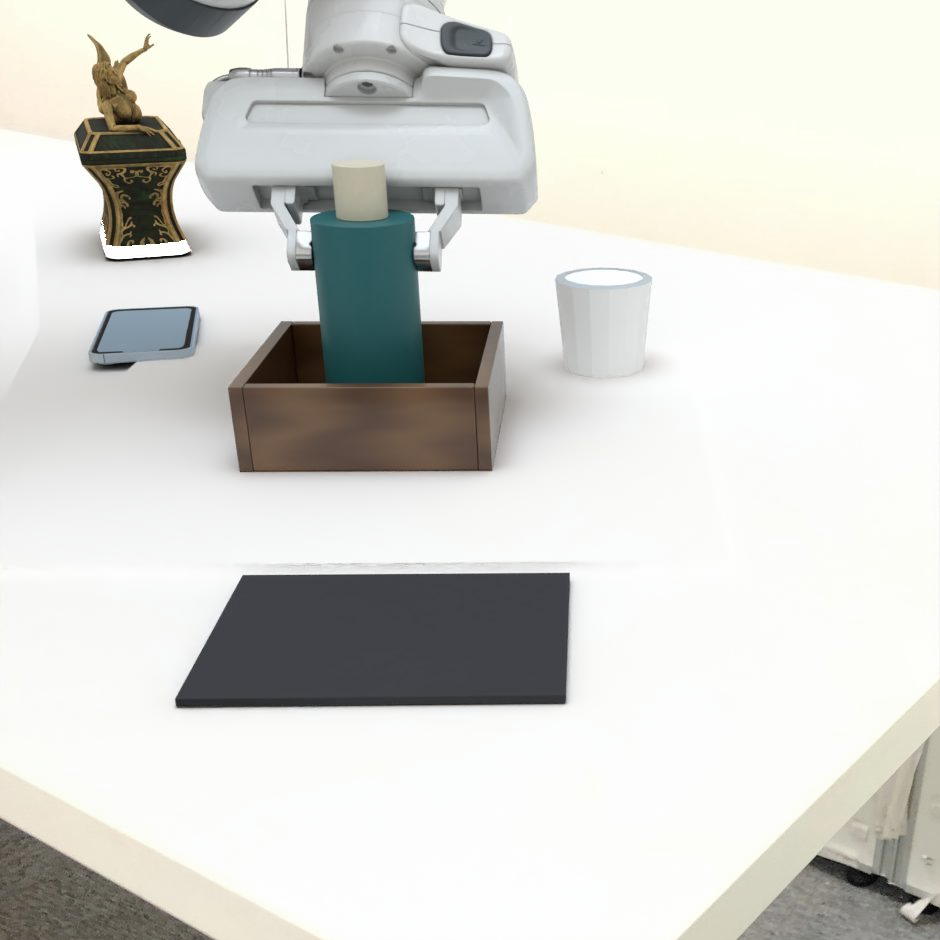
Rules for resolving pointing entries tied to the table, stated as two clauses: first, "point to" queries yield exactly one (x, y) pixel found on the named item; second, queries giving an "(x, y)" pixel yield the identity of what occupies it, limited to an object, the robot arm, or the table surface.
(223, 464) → the table surface
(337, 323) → the bottle
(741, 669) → the table surface
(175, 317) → the smartphone
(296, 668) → the mat
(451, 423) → the wooden box
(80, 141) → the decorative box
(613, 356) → the white cup
